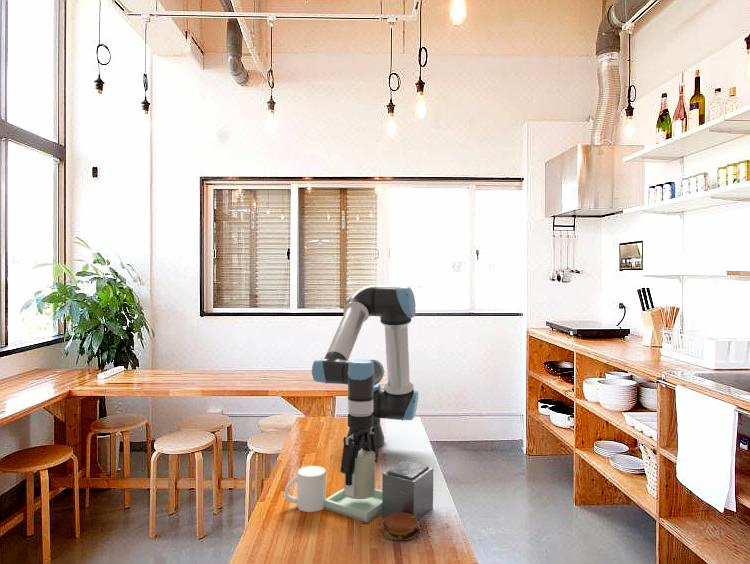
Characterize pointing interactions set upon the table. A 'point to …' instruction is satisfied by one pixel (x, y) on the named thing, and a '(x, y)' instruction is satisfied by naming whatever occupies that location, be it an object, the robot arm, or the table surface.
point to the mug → (309, 489)
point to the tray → (355, 505)
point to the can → (364, 475)
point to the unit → (407, 489)
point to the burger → (400, 526)
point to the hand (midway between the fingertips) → (359, 489)
